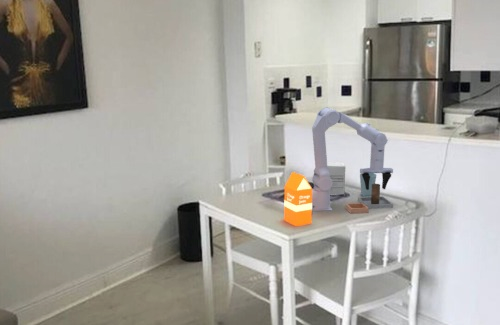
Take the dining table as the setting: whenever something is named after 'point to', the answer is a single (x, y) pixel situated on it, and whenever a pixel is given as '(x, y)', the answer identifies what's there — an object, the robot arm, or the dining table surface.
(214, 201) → the dining table surface
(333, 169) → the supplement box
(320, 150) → the robot arm
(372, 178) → the cup
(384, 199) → the tray
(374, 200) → the peg
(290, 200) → the orange juice
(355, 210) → the orange square open box
